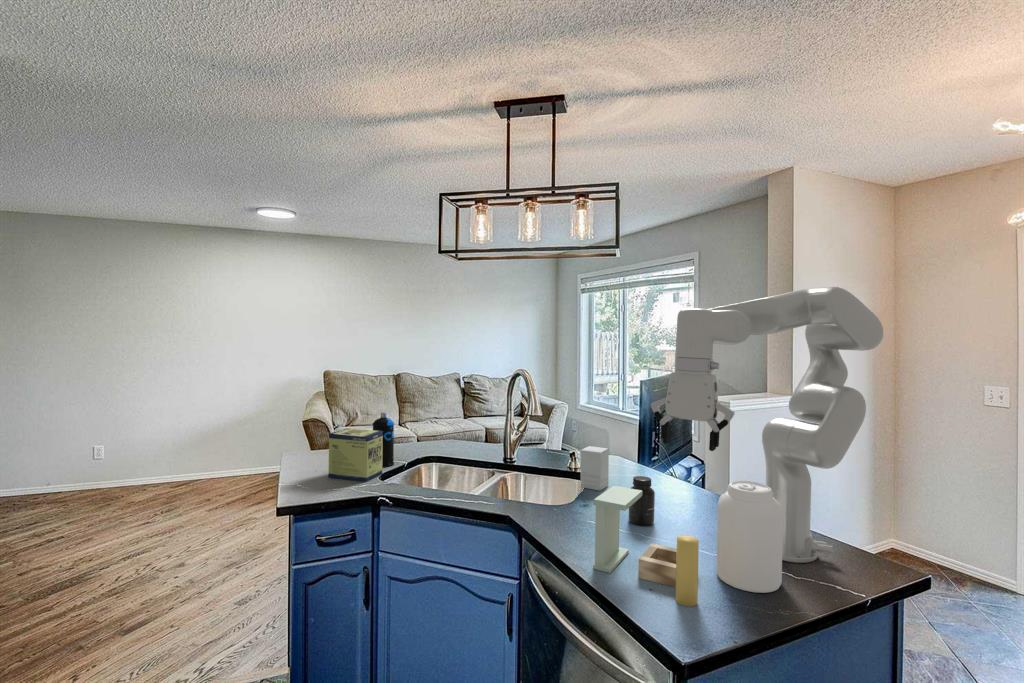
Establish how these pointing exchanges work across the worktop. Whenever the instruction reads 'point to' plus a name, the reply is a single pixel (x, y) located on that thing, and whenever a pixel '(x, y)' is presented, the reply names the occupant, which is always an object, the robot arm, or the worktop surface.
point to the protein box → (355, 454)
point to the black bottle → (386, 438)
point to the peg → (687, 570)
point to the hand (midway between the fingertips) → (689, 446)
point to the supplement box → (594, 467)
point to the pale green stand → (611, 526)
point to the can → (750, 537)
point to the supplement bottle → (643, 502)
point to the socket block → (658, 565)
